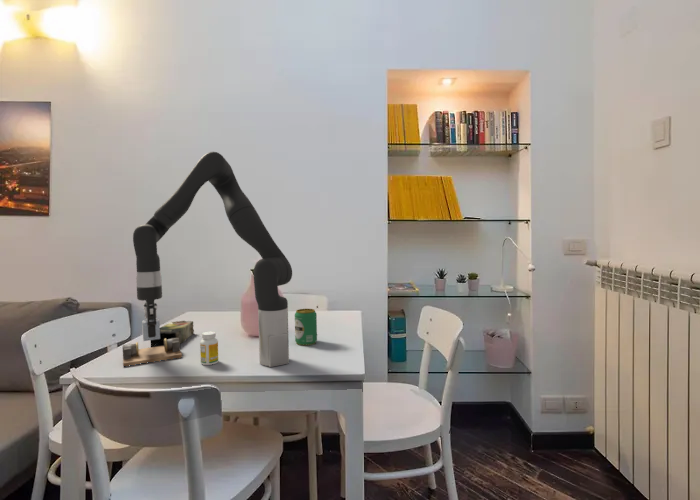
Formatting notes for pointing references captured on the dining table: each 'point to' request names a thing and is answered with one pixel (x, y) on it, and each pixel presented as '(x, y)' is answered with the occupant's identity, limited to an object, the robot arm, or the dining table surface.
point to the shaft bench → (151, 352)
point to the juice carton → (175, 331)
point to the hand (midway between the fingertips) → (151, 334)
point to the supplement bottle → (209, 348)
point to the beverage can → (305, 327)
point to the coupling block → (145, 330)
